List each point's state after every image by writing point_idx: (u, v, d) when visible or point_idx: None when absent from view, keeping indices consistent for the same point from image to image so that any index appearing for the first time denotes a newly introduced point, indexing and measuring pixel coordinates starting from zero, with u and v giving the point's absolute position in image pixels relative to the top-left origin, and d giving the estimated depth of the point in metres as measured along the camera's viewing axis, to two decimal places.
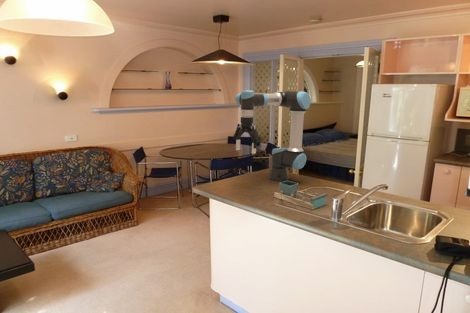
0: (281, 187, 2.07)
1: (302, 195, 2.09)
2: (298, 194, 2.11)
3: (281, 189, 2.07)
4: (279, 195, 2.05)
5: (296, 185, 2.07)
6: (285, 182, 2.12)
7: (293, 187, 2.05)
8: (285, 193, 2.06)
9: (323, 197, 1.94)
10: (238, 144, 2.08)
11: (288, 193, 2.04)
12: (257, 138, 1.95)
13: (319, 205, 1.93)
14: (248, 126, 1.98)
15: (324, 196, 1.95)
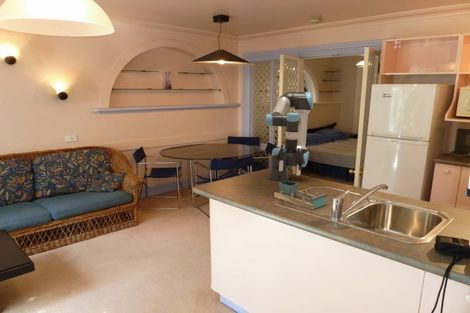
0: (281, 187, 2.07)
1: (302, 195, 2.09)
2: (298, 194, 2.11)
3: (281, 189, 2.07)
4: (279, 195, 2.05)
5: (296, 185, 2.07)
6: (285, 182, 2.12)
7: (293, 187, 2.05)
8: (285, 193, 2.06)
9: (323, 197, 1.94)
10: (281, 165, 2.10)
11: (288, 193, 2.04)
12: (303, 160, 1.98)
13: (319, 205, 1.93)
14: (293, 148, 2.01)
15: (324, 196, 1.95)
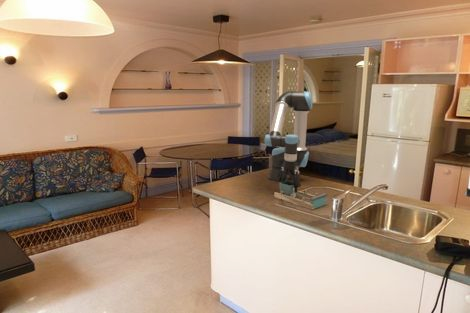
0: (281, 187, 2.07)
1: (302, 195, 2.09)
2: (298, 194, 2.11)
3: (281, 189, 2.07)
4: (279, 195, 2.05)
5: None
6: (285, 182, 2.12)
7: None
8: (285, 193, 2.06)
9: (323, 197, 1.94)
10: None
11: (288, 193, 2.04)
12: (299, 183, 2.02)
13: (319, 205, 1.93)
14: (292, 169, 2.03)
15: (324, 196, 1.95)
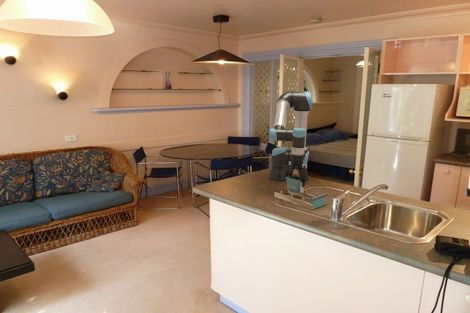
0: (288, 182, 2.02)
1: (302, 195, 2.09)
2: (298, 194, 2.11)
3: (288, 184, 2.02)
4: (279, 195, 2.05)
5: None
6: (292, 177, 2.07)
7: None
8: (292, 188, 2.01)
9: (323, 197, 1.94)
10: None
11: (295, 188, 1.99)
12: (306, 178, 1.97)
13: (319, 205, 1.93)
14: (299, 163, 1.98)
15: (324, 196, 1.95)
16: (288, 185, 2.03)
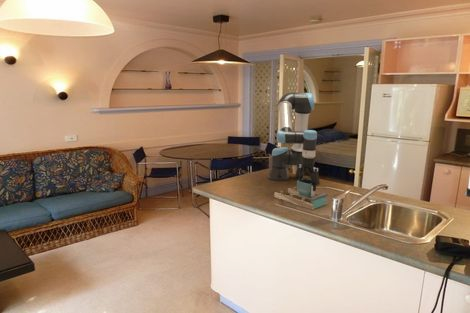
0: (299, 185, 1.97)
1: None
2: (298, 194, 2.11)
3: (299, 188, 1.97)
4: (279, 195, 2.05)
5: None
6: (302, 180, 2.02)
7: None
8: (303, 191, 1.96)
9: (323, 197, 1.94)
10: None
11: (306, 191, 1.94)
12: (318, 181, 1.92)
13: (319, 205, 1.93)
14: (310, 167, 1.93)
15: (324, 196, 1.95)
16: (298, 189, 1.97)
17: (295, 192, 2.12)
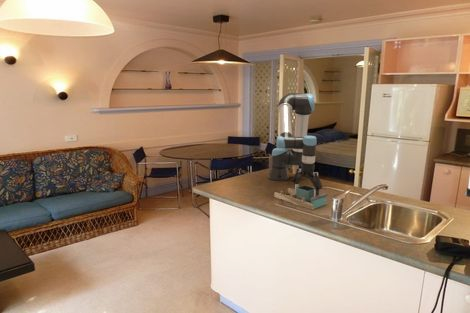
0: (298, 192, 1.98)
1: None
2: None
3: (298, 195, 1.98)
4: (279, 195, 2.05)
5: None
6: (302, 187, 2.03)
7: (311, 192, 1.96)
8: None
9: (323, 197, 1.94)
10: None
11: (306, 198, 1.95)
12: (320, 185, 1.91)
13: (319, 205, 1.93)
14: (310, 172, 1.94)
15: (324, 196, 1.95)
16: (298, 195, 1.99)
17: None
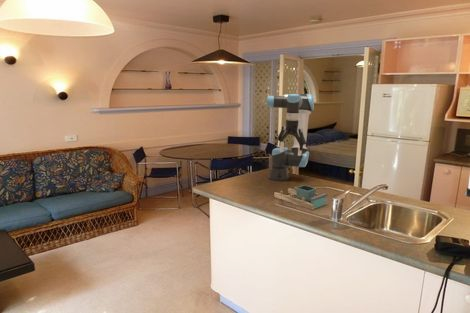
0: (298, 192, 1.98)
1: None
2: None
3: (298, 195, 1.98)
4: (279, 195, 2.05)
5: (314, 190, 1.97)
6: (302, 187, 2.03)
7: (311, 192, 1.96)
8: None
9: (323, 197, 1.94)
10: (282, 146, 2.13)
11: (306, 198, 1.95)
12: (304, 141, 2.01)
13: (319, 205, 1.93)
14: (294, 129, 2.03)
15: (324, 196, 1.95)
16: (298, 195, 1.99)
17: (295, 192, 2.12)
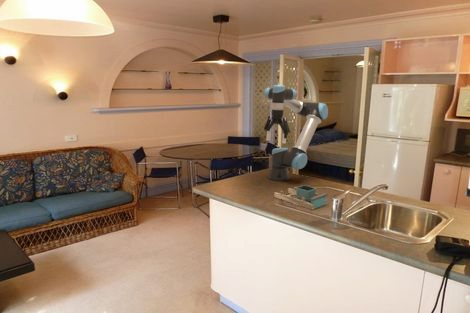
0: (298, 192, 1.98)
1: None
2: None
3: (298, 195, 1.98)
4: (279, 195, 2.05)
5: (314, 190, 1.97)
6: (302, 187, 2.03)
7: (311, 192, 1.96)
8: None
9: (323, 197, 1.94)
10: (268, 135, 2.25)
11: (306, 198, 1.95)
12: (287, 129, 2.12)
13: (319, 205, 1.93)
14: (279, 118, 2.15)
15: (324, 196, 1.95)
16: (298, 195, 1.99)
17: (295, 192, 2.12)
